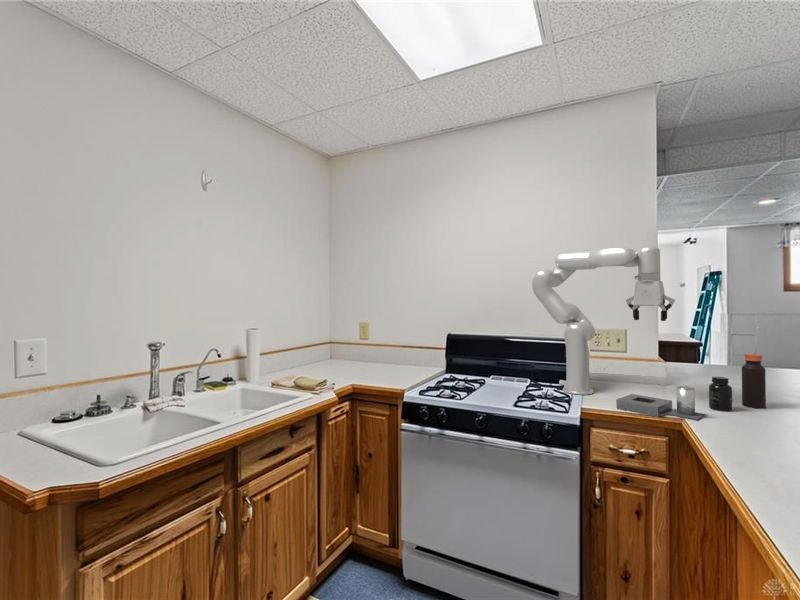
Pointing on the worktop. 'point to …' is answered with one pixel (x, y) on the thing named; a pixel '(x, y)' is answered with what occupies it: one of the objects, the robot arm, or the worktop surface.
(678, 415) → the mat
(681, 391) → the shiny grey cylinder
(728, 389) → the supplement bottle
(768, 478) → the worktop surface
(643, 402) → the block
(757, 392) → the vinegar
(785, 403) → the worktop surface
